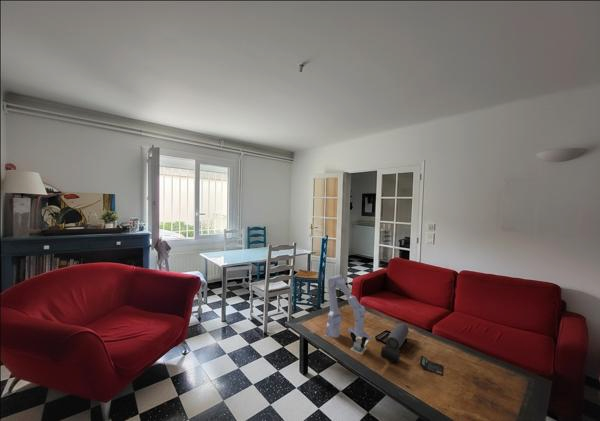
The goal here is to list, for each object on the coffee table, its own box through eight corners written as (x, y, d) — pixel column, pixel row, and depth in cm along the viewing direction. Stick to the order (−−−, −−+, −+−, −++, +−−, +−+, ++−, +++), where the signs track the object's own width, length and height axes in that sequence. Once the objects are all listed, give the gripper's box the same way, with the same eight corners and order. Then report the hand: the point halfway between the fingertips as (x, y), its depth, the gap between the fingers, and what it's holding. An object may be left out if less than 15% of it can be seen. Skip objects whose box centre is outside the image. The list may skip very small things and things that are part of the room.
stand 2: (350, 351, 157) (350, 349, 157) (355, 345, 163) (355, 343, 163) (361, 356, 152) (362, 354, 152) (366, 350, 159) (366, 347, 159)
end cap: (380, 359, 150) (380, 348, 150) (384, 353, 156) (384, 343, 156) (397, 366, 144) (397, 355, 144) (400, 360, 150) (401, 349, 150)
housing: (353, 349, 157) (353, 341, 157) (357, 344, 162) (357, 337, 162) (360, 351, 154) (360, 344, 154) (364, 347, 159) (364, 339, 159)
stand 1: (353, 343, 165) (353, 341, 165) (357, 338, 172) (357, 336, 172) (364, 348, 161) (364, 346, 161) (368, 342, 167) (369, 340, 167)
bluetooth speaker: (400, 354, 155) (401, 339, 154) (385, 348, 161) (386, 334, 160) (409, 338, 173) (409, 324, 172) (395, 333, 179) (396, 320, 178)
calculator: (442, 376, 137) (442, 371, 137) (419, 368, 143) (419, 363, 143) (442, 366, 145) (442, 361, 145) (420, 359, 151) (421, 354, 151)
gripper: (346, 324, 158) (345, 344, 159) (367, 332, 149) (367, 353, 150) (350, 320, 164) (350, 339, 164) (372, 327, 155) (371, 347, 156)
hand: (358, 345), depth 158 cm, fingers open, 5 cm apart
